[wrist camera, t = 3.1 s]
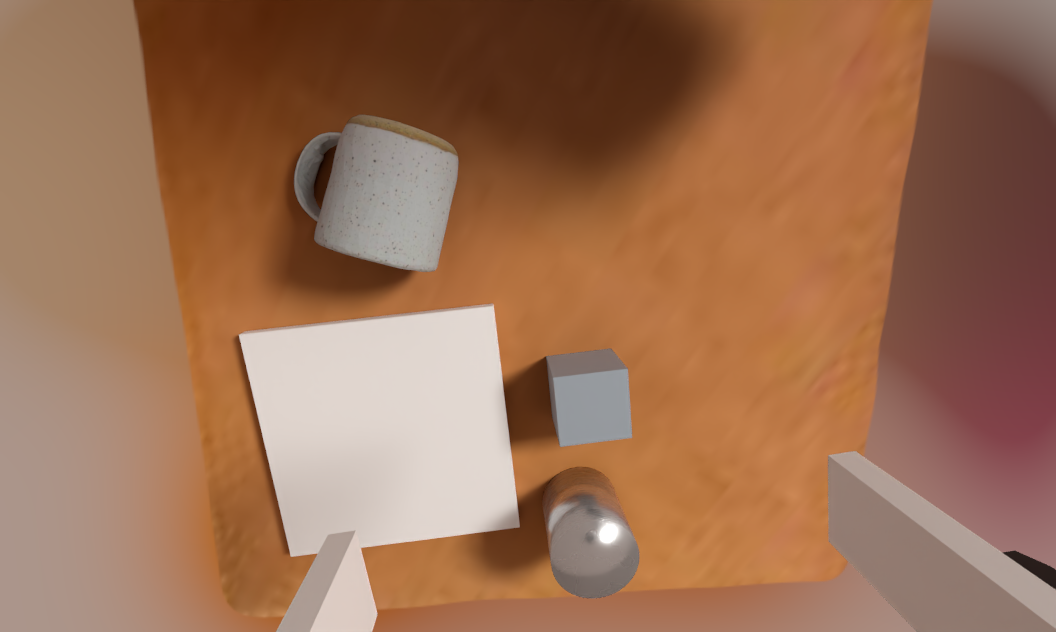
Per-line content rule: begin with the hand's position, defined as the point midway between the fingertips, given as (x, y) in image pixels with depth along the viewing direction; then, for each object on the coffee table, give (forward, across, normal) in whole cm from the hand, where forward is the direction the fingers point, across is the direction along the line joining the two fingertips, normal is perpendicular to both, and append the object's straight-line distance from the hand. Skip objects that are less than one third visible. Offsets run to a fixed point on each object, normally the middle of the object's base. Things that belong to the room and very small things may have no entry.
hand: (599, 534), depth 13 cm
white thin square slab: (+24, -12, -6) cm, 27 cm away
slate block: (+24, +3, -5) cm, 24 cm away
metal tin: (+24, +1, -15) cm, 28 cm away
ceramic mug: (+24, -10, +11) cm, 28 cm away
